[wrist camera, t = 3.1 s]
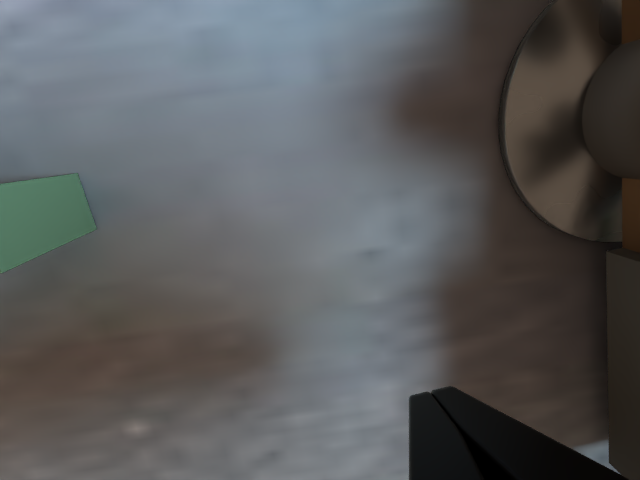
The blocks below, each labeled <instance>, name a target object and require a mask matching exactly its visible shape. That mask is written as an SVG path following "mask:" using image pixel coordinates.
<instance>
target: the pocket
mask: <svg viewBox="0 0 640 480" xmlns="http://www.w3.org/2000/svg"><path fill="white" fill-rule="evenodd" d="M96 229H97V228H96V225H95V223H94V220H93V217H92V214H91V211H90V208H89V205H88V202H87V199H86V196H85V194H84V191H83V188H82V185H81V182H80V179H79V176H78V173H76V174H68V175H61V176H54V177H47V178H40V179H33V180H25V181H18V182H11V183H4V184H0V273H3V272H6V271H8V270H10V269H12V268H14V267H16V266H18V265H21V264H23V263H25V262H27V261H29V260H31V259H34V258H36V257H38V256H40V255H42V254H44V253H46V252H49V251H51V250H53V249H55V248H57V247H59V246H62V245H64V244H66V243H68V242H70V241H72V240H75V239H77V238H79V237H81V236H83V235H85V234H87V233H90V232H92V231H94V230H96Z"/></svg>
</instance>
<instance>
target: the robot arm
mask: <svg viewBox="0 0 640 480" xmlns="http://www.w3.org/2000/svg"><path fill="white" fill-rule="evenodd" d="M409 480H630V479H628V478H626V477H624V476H622V475H620V474H618V473H616V472H614V471H613V470H611V469H609V468H607V467H605V466H603V465H601V464H599V463H597V462H595V461H593V460H592V459H590V458H588V457H586V456H584V455H582V454H580V453H578V452H576V451H574V450H573V449H571V448H569V447H567V446H565V445H563V444H561V443H559V442H557V441H555V440H553V439H552V438H550V437H548V436H546V435H544V434H542V433H540V432H538V431H536V430H534V429H533V428H531V427H529V426H527V425H525V424H523V423H521V422H519V421H517V420H515V419H513V418H512V417H510V416H508V415H506V414H504V413H502V412H500V411H498V410H496V409H494V408H493V407H491V406H489V405H487V404H485V403H483V402H481V401H479V400H477V399H475V398H473V397H472V396H470V395H468V394H466V393H464V392H462V391H460V390H458V389H456V388H454V387H451V386H448V387H444V388H440V389H436V390H433V391H432V392H431V393H430V392H423V393H419V394H415V395H411V396H410V397H409Z"/></svg>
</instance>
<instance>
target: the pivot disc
mask: <svg viewBox="0 0 640 480" xmlns="http://www.w3.org/2000/svg"><path fill="white" fill-rule="evenodd" d="M620 45H622V0H554V1H553V2H552V3H551V4H550V5H549V6H548V7H547V8H546V9H545V10H544V11H543V12H542V13H541V14H540V16H539V17H538V18H537V19H536V21H535V22H534V23H533V24H532V26H531V27H530V29H529V30H528V32H527V33H526V35H525V37H524V38H523V40H522V41H521V43H520V45H519V47H518V49H517V51H516V53H515V55H514V57H513V60H512V62H511V64H510V67H509V70H508V73H507V76H506V79H505V82H504V87H503V91H502V96H501V101H500V111H499V140H500V147H501V154H502V158H503V161H504V165H505V168H506V171H507V174H508V176H509V178H510V181H511V183H512V185H513V187H514V189H515V190H516V192H517V193H518V195H519V197H520V198H521V200H522V201H523V202H524V203H525V204H526V206H527V207H528V208H529V209H530V210H531V211H532V212H533V213H534V214H535V215H536V216H538V217H539V218H540V219H541V220H542V221H544V222H545V223H547V224H549V225H550V226H552V227H553V228H555V229H558V230H560V231H562V232H564V233H567V234H570V235H573V236H577V237H580V238H584V239H588V240H593V241H601V242H620V241H622V178H621V177H618V176H615V175H613V174H611V173H609V172H607V171H606V170H605V169H603V168H602V167H601V166H600V165H599V164H598V163H597V162H596V161H595V159H594V158H593V157H592V155H591V153H590V152H589V150H588V148H587V145H586V142H585V139H584V134H583V127H582V112H583V105H584V100H585V96H586V93H587V90H588V87H589V85H590V82H591V81H592V79H593V77H594V75H595V73H596V71H597V70H598V68H599V67H600V65H601V64H602V63H603V62H604V60H605V59H606V58H607V57H608V56H609V55H610V54H611V53H612V52H613V51H614V50H615V49H617V48H618V47H619V46H620Z"/></svg>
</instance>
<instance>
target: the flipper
mask: <svg viewBox="0 0 640 480" xmlns="http://www.w3.org/2000/svg"><path fill="white" fill-rule="evenodd" d="M582 127H583V134H584V139H585V142H586V145H587V148H588V150H589V152H590V153H591V155H592V157H593V158H594V159H595V161H596V162H597V163H598V164H599V165H600V166H601V167H602V168H603V169H605V170H606V171H607V172H609V173H611V174H613V175H615V176H618V177H621V178H622V248H618V249H614V250H609V251H606V276H607V348H608V420H609V463H610V464H611V465H612V466H613V467H614V468H615V469H616V470H617V471H618V472H619V473H620V474H621V475H622V476H624V477H626V478H628V479H630V480H640V0H622V45H620V46H619V47H618V48H617V49H615V50H614V51H613V52H612V53H611V54H610V55H609V56H608V57H607V58H606V59H605V60H604V62H603V63H602V64H601V65H600V67H599V68H598V70H597V71H596V73H595V75H594V77H593V79H592V81H591V82H590V85H589V87H588V90H587V93H586V96H585V100H584V105H583V112H582Z"/></svg>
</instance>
